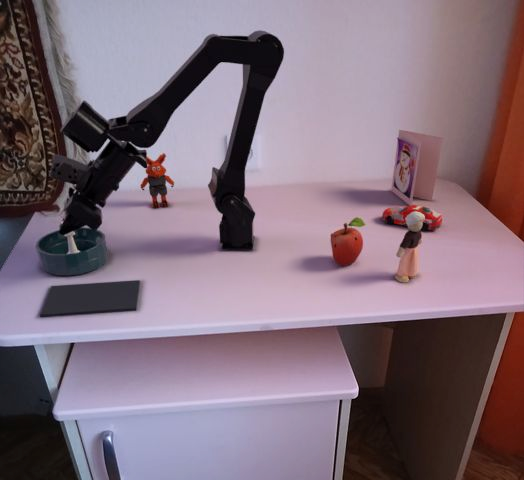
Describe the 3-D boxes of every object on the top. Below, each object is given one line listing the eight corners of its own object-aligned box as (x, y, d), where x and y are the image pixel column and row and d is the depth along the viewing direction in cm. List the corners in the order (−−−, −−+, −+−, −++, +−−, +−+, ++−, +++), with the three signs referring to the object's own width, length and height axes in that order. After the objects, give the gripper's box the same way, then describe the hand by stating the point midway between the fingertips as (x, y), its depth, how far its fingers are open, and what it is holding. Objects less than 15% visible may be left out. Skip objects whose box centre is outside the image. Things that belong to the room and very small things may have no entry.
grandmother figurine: (409, 287, 98) (420, 221, 91) (389, 281, 100) (398, 216, 92) (423, 270, 103) (434, 206, 96) (403, 265, 105) (413, 202, 98)
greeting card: (388, 190, 139) (395, 129, 130) (414, 188, 140) (423, 127, 131) (408, 206, 130) (417, 142, 121) (435, 203, 131) (447, 139, 122)
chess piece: (81, 266, 105) (69, 217, 99) (58, 264, 106) (45, 216, 100) (92, 255, 109) (82, 208, 103) (70, 253, 110) (58, 206, 104)
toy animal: (145, 212, 129) (138, 161, 122) (143, 204, 133) (135, 154, 126) (178, 208, 130) (173, 158, 123) (175, 200, 135) (169, 151, 128)
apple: (320, 264, 106) (323, 216, 100) (336, 252, 110) (340, 204, 104) (355, 275, 102) (361, 225, 96) (371, 261, 107) (377, 213, 101)
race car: (378, 222, 122) (380, 205, 120) (386, 214, 126) (388, 198, 124) (436, 234, 117) (439, 216, 114) (442, 225, 121) (446, 208, 118)
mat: (139, 282, 101) (139, 280, 100) (136, 310, 92) (135, 307, 92) (51, 288, 99) (51, 285, 99) (40, 317, 91) (39, 314, 91)
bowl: (116, 247, 113) (112, 227, 110) (97, 277, 102) (93, 255, 100) (55, 246, 113) (50, 226, 111) (31, 276, 103) (24, 254, 100)
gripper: (73, 126, 102) (28, 188, 107) (66, 154, 87) (14, 225, 92) (122, 165, 108) (77, 222, 113) (124, 197, 93) (72, 261, 98)
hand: (61, 231), depth 104 cm, fingers closed
